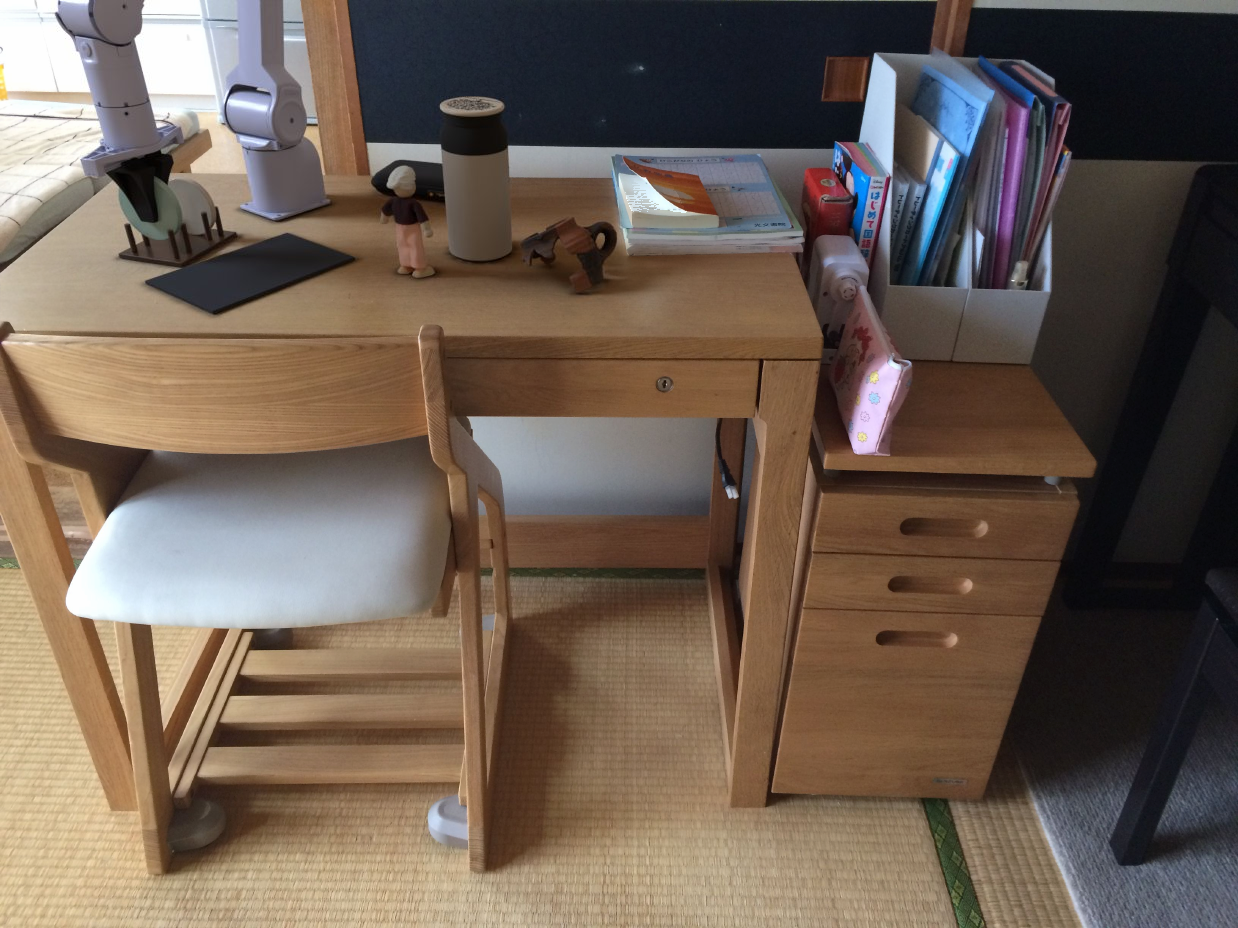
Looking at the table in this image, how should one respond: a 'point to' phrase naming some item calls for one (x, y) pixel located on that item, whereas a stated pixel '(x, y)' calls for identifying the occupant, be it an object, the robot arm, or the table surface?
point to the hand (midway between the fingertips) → (153, 219)
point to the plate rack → (177, 244)
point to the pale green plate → (166, 212)
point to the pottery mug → (573, 248)
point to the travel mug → (476, 178)
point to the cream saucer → (193, 204)
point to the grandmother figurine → (408, 222)
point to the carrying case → (426, 178)
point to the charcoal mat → (249, 272)
